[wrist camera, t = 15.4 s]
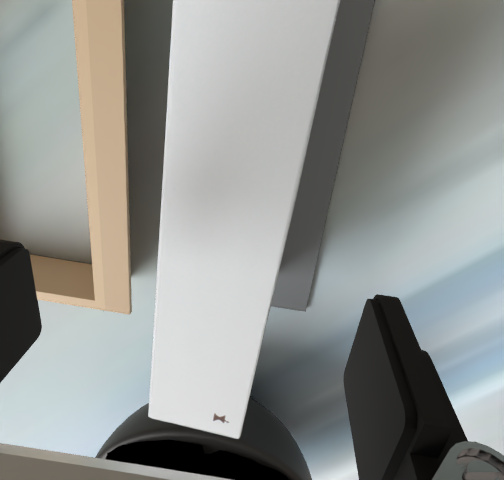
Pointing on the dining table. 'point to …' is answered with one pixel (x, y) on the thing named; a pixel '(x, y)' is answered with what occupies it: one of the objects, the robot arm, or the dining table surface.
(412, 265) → the dining table surface
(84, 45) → the wooden frame
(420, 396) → the robot arm
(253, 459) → the coal bowl
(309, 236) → the mat
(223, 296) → the skincare box
